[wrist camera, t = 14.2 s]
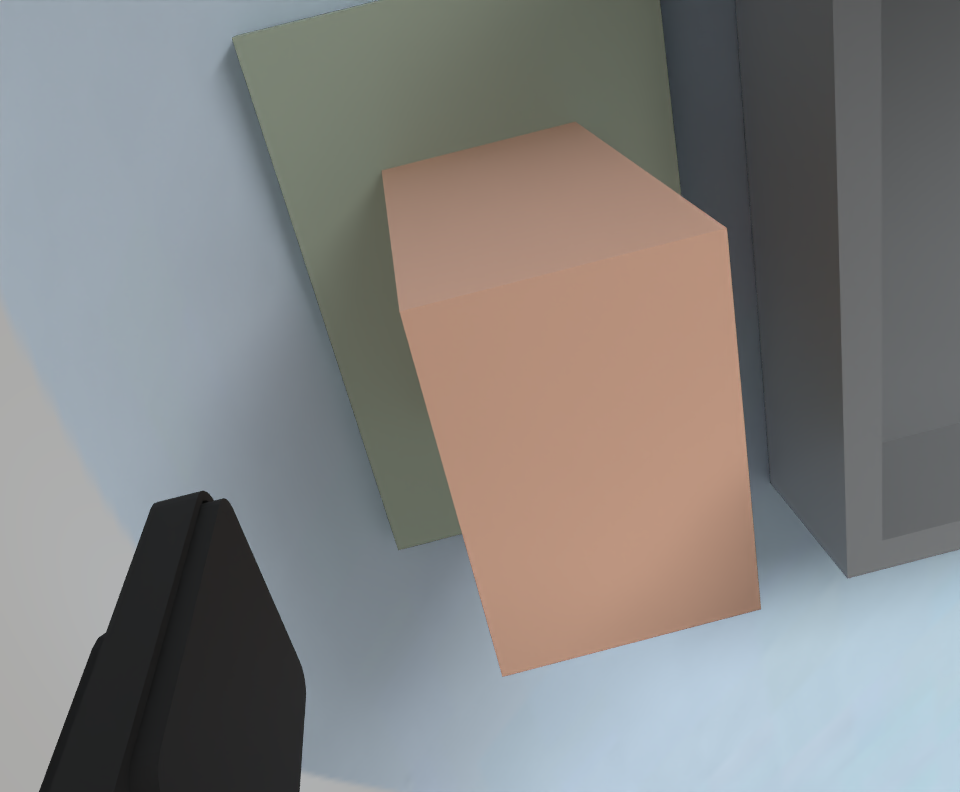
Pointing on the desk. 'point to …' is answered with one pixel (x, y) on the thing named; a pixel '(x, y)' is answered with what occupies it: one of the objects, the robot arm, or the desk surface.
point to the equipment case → (858, 267)
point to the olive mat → (422, 135)
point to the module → (578, 390)
